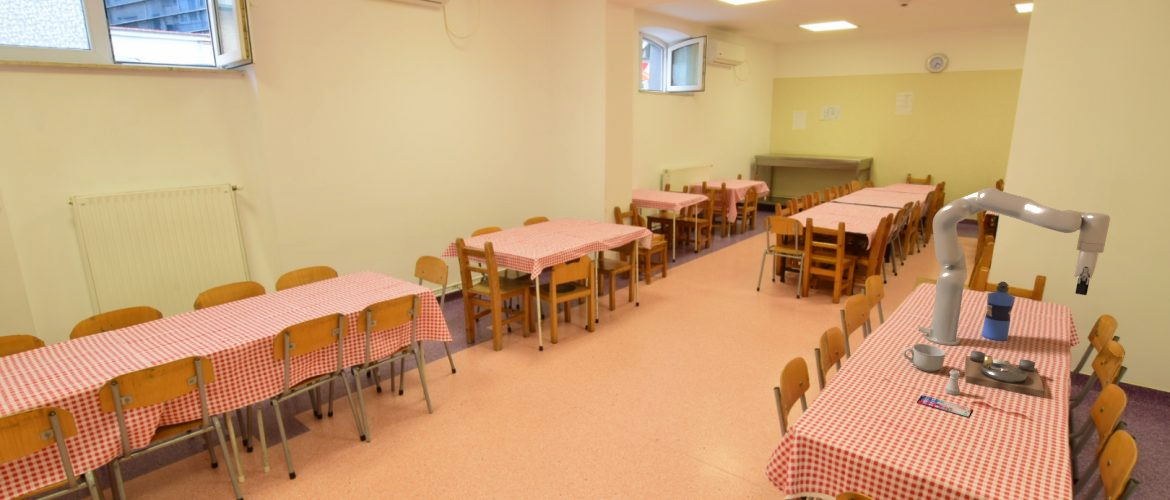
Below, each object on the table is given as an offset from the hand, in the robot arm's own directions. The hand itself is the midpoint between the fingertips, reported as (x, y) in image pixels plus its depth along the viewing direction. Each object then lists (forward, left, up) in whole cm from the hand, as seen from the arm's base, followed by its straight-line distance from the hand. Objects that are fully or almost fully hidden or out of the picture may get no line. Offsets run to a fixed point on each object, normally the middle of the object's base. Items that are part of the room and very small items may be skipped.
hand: (1081, 291), depth 213 cm
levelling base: (-22, -28, -30) cm, 46 cm away
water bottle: (-22, +21, -30) cm, 42 cm away
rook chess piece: (-37, -51, -30) cm, 70 cm away
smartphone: (-39, -64, -30) cm, 81 cm away
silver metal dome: (-22, -32, -27) cm, 48 cm away
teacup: (-47, -33, -30) cm, 65 cm away
